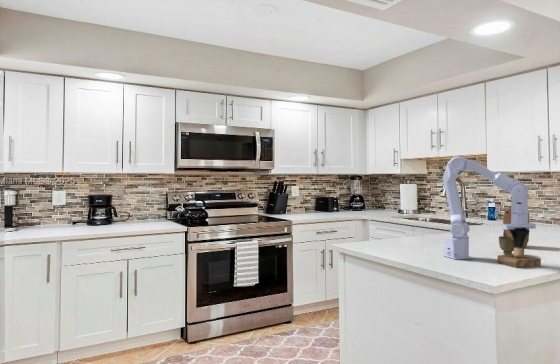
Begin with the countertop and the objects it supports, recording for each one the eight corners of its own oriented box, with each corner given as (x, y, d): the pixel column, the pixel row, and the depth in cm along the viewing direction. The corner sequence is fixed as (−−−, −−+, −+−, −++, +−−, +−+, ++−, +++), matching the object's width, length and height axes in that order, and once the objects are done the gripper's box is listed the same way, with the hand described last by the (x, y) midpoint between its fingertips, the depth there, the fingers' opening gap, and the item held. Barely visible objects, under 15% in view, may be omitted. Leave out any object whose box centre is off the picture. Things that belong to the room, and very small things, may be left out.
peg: (519, 265, 150) (519, 249, 150) (511, 263, 154) (511, 247, 154) (526, 265, 151) (526, 249, 151) (518, 263, 155) (518, 247, 155)
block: (530, 247, 188) (531, 207, 188) (520, 249, 185) (521, 208, 185) (509, 244, 198) (510, 206, 198) (500, 245, 195) (500, 206, 194)
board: (516, 267, 146) (516, 260, 146) (497, 262, 155) (497, 255, 155) (540, 266, 150) (540, 258, 149) (520, 261, 158) (521, 254, 158)
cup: (499, 252, 177) (500, 235, 177) (518, 254, 172) (518, 236, 172) (496, 254, 171) (497, 237, 171) (515, 256, 167) (516, 238, 166)
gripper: (513, 214, 146) (512, 249, 147) (542, 213, 150) (542, 247, 150) (498, 213, 153) (498, 246, 153) (527, 212, 157) (526, 244, 157)
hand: (519, 246), depth 152 cm, fingers closed
